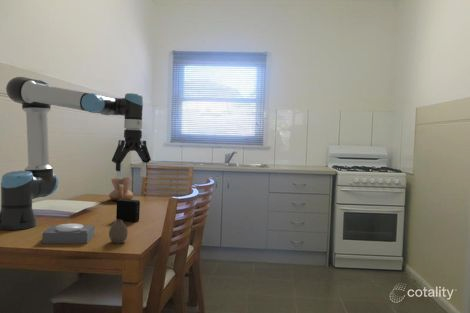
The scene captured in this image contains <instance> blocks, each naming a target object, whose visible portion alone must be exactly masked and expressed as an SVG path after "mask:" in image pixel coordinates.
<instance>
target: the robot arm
mask: <svg viewBox="0 0 470 313" xmlns="http://www.w3.org/2000/svg"><path fill="white" fill-rule="evenodd" d="M5 90H6V94H7V97H9V99H10V100H12V101H13V102H14V103H17V104H21V108H22V111H24V112H25V115H26V141H27V144H26V145H27V166H26V167H25V168H24V170H15V171H10V172H6V173H4V174H3V175H2V177H1V182H0V230H2V231H19V230H27V229H30V228H34V227H36V226H37V217H36V215H35V213H34V209H33V200H34V199H39V198H46V197H48V196H51V195H53V193H55V192H56V191H57V189H58V187H59V177H58V175H56V173H55V172H54V169H53V168H54V167H53V166H51V165H50V158H49V157H50V155H49V154H50V153H49V133H48V131H49V129H48V128H49V126H48V113H49V112H50V111H51V106H56V107H61V108H67V109H74V110H77V111H82V112H83V111H84V112H87V113H92V114H100V115H104V116H124V119H123V120H124V124H123V126H124V127H123V128H124V131H123V138H124V140H123V139H119V140H118V142H117V144H118V145H117V147H116V149H115V152H114V154H113V156H112V159H111V163H112V162H113V163H114V164H115V171H116V177H117V179H122V177H123V171H124V170H123V167H124V164H123V161H124V159H125V158H126V156H127V155H128V153H130V152H134V151H135V152H136V153H137V155H138V157H139V159H140V160H141V162H140V175H139V176H140V177H141V178H146V177H147V169H148V164H149V163H150V162H151V160H152V158H151V156H150V152H149V150H148V145H147V141H146V140H141V139H142V136H143V131H142V129H143V107H144V103H143V102H144V101H143V96H142V94H139V93H133V92H132V93H131V92H130V93H126V94H124V97H122V98H119V97H110V96H106V95H100V94H97V93H93V92H92V93H90V92H85V91H79V90H74V89H68V88H61V87H57V86H51V85H50V83H48V82H45V81H43V80H40V79H39V80H38V79H33V78H28V77H25V76H16V77H13V78H11V79H10V80H9V81H8V82H7V83H6V86H5Z"/></svg>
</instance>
